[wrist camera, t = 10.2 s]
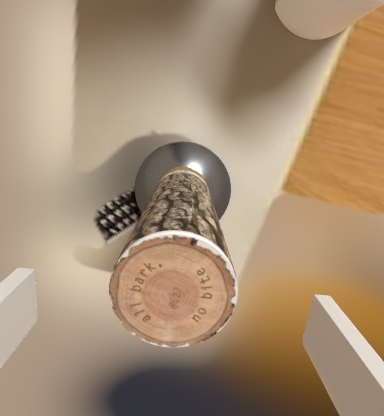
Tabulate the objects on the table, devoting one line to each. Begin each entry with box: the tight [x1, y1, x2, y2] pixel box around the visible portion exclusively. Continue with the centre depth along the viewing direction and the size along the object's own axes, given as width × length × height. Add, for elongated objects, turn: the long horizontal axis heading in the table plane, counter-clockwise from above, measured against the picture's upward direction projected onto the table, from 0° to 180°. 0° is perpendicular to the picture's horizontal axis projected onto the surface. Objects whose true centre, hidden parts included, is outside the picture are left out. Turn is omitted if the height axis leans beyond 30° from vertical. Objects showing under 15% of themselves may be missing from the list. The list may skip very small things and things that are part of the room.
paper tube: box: [109, 167, 238, 347], centre depth 27 cm, size 7×7×25 cm
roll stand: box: [135, 141, 231, 220], centre depth 33 cm, size 13×13×14 cm
